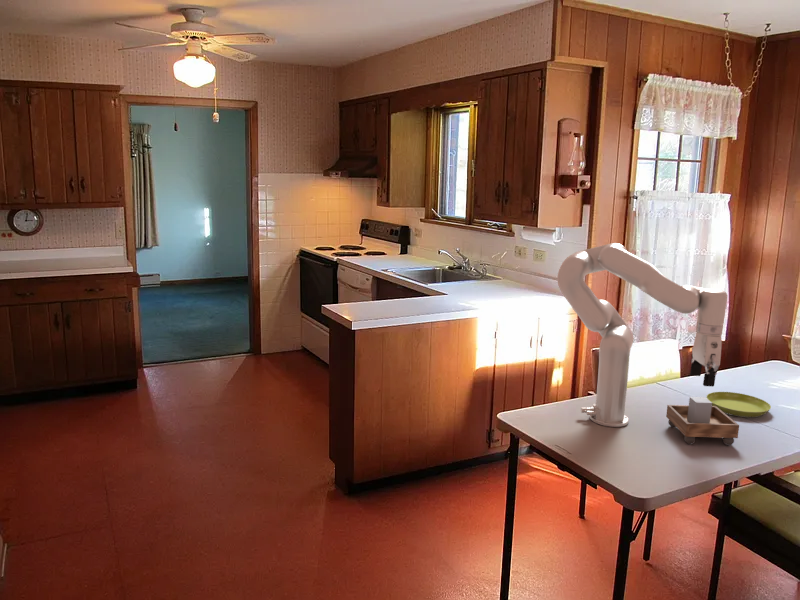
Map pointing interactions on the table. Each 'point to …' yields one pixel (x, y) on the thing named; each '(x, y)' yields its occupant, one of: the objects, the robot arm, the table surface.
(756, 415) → the saucer
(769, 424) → the table surface
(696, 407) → the block
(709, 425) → the cart
